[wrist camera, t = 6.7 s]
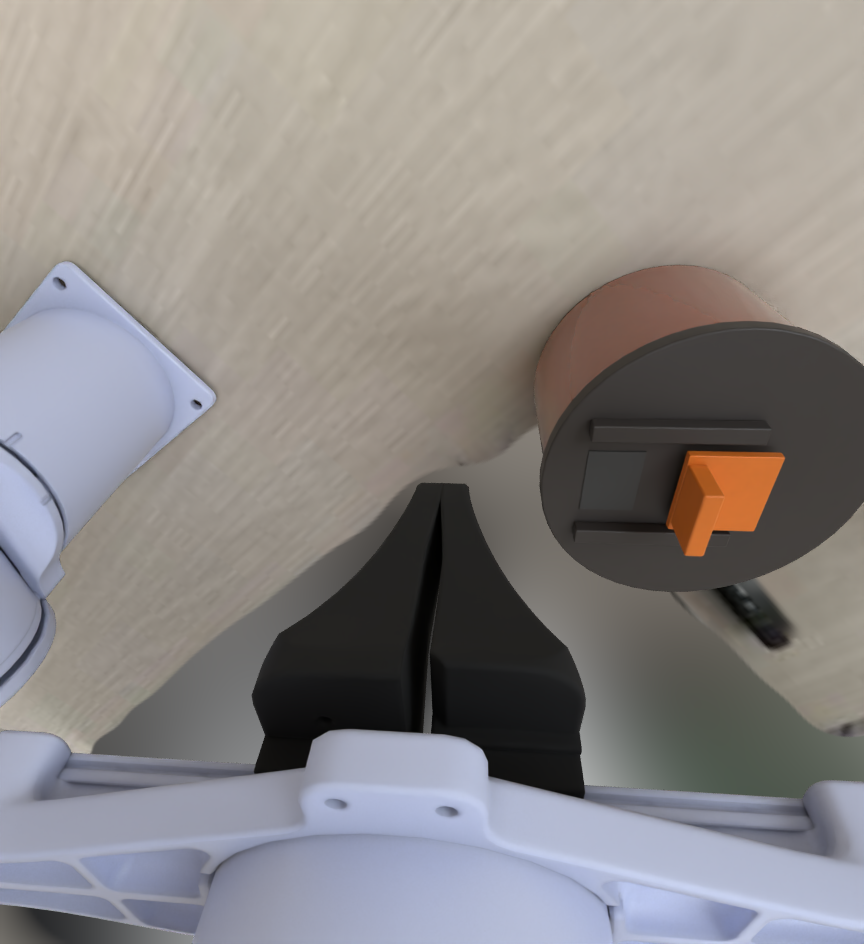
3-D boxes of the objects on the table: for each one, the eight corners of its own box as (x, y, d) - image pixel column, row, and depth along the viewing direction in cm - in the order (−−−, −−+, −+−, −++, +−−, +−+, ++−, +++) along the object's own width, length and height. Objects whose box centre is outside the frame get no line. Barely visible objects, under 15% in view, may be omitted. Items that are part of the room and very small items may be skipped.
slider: (665, 523, 19) (681, 563, 17) (686, 450, 17) (707, 488, 15) (750, 526, 19) (775, 567, 17) (781, 452, 17) (812, 490, 15)
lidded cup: (519, 478, 27) (530, 597, 21) (537, 257, 21) (560, 334, 15) (739, 482, 27) (818, 608, 20) (826, 255, 20) (978, 335, 14)
